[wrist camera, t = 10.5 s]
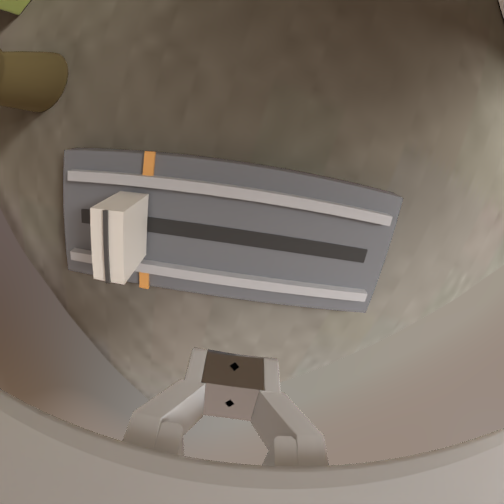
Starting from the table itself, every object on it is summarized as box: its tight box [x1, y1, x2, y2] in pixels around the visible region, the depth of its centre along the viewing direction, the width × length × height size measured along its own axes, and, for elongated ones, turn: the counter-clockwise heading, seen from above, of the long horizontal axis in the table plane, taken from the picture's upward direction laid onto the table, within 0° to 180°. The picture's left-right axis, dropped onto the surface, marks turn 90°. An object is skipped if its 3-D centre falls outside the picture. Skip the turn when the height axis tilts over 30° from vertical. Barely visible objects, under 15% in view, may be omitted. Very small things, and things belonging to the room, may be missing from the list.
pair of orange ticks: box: [139, 151, 156, 289], centre depth 22 cm, size 1×11×1 cm, turn 171°
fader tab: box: [90, 191, 149, 285], centre depth 20 cm, size 2×5×5 cm, turn 171°
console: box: [63, 148, 403, 313], centre depth 23 cm, size 28×11×3 cm, turn 81°
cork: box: [0, 49, 68, 112], centre depth 14 cm, size 6×6×11 cm
